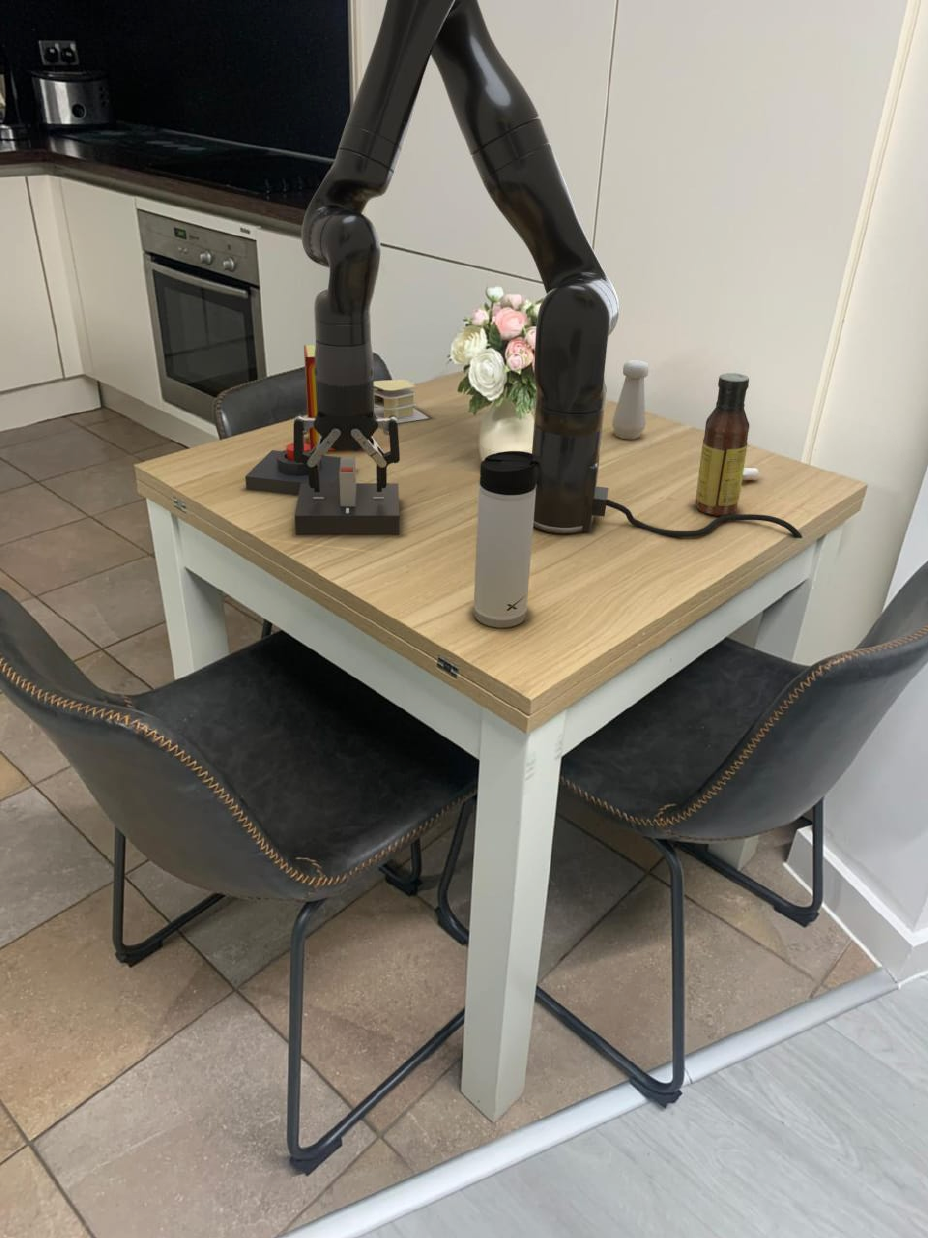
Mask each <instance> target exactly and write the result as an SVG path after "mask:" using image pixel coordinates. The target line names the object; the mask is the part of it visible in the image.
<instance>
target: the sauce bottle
mask: <svg viewBox="0 0 928 1238" xmlns="http://www.w3.org/2000/svg"><path fill="white" fill-rule="evenodd" d="M749 384H750V377H749V376H747V375H746V374H741V373H736V372H727V373H722V374H720V375H719V377H718V383H717V386H718V394H717V401H716V403H715V408H714V409H713V410H712V412H711V413H710V414H709V415H708V417H707V418H706V420H705V427H704V434H703V439H702V444H701V453H700V460H699V461H700V462H699V468H698V476H697V484H696V490H695V491H696V492H695V506H696V508H697V509H698V510H699V511H700V512H702V513H704V514H708V515H711V516H715V517H721V516H725V515H732V514H735V512H736V511H737V508H738V504H739V503H738V502H739V501H740V498H741V497H740V496H741V491H742V490H741V489H742V482H743V480H742V477H743V471H744V467H745V464H746V456H747V450H748V439H749V438H748V437H749V432H750V422H749V419H748V417H747V413H746V410H745V407H746V405H745V401H746V395H747V390H748V389H749V386H750V385H749Z"/></svg>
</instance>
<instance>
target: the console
mask: <svg viewBox="0 0 928 1238" xmlns="http://www.w3.org/2000/svg"><path fill="white" fill-rule="evenodd" d="M399 488H400V487H399V483H398V482H397V483H395V482H394V483H393V482H392V483H390V482H389V483H388V482H387V485H386V488H382V492H377V482H374V483H373V482H371V483H370V482H367V483H366V482H365V483H364V482H362V483H361V482H360V483H359V482H356V502H355V506H341V504H340V483H320V492H314V488H310V486H309V483H301V485H300V490H299V495H297V502H296V507H295V511H294V527H295V536H400V492H399V491H400V489H399Z"/></svg>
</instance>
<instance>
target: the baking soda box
mask: <svg viewBox="0 0 928 1238" xmlns="http://www.w3.org/2000/svg"><path fill="white" fill-rule="evenodd" d="M315 346H316V344H309V345H308V344H307V345H306V344H304V345H303V354H304V355H303V356H304V375H305V376H304V377H305V392H306V393H305V395H306V396H305V397H306V412H307V414H306V415H307V418H315V417H316V415H317V398H316V377H315V372H314V367H315ZM307 435H308V444H309V445H310V446H311V449H313V448H314V447H315V446H316V444H317V442H318V441H319V439H320V438H321V436H320V434H319V433H318V432H317V431H316V429H315V428H314V427H312V428H310V430H309V433H308V434H307ZM359 451H365V450H364V449H363V448H361V449H359V450H358V451H357V452H359ZM328 452H336V451H335V449H332V448H331V447H330V449H329V450H328V451H327V453H328ZM342 452H352V451H351V450H343V451H342Z"/></svg>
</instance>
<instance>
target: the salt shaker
mask: <svg viewBox="0 0 928 1238" xmlns="http://www.w3.org/2000/svg"><path fill="white" fill-rule="evenodd" d="M649 370H650V369H649V364H648V363H647V362H646V361H644V360H640V359H631V360H630V359H629V360H627V361H625V362H624V363H623V367H622V375H623V376H625V378H624V381H623V384H622V388H621V392H620V395H619V398H618V401H617V404H616V407H615V411H614V413H613V417H612V418H611V419H612V420H611V425H612V429H613V432H614V435H615V437H618V438H619V439H622V440H631V441H633V440H636V439H638V438H640V437H641V435H642V433H643V431H644V430H645V428H646V424H647V423H646V400H645V398H646V397H645V396H646V395H645V378H646V377H648V375H649Z"/></svg>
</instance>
